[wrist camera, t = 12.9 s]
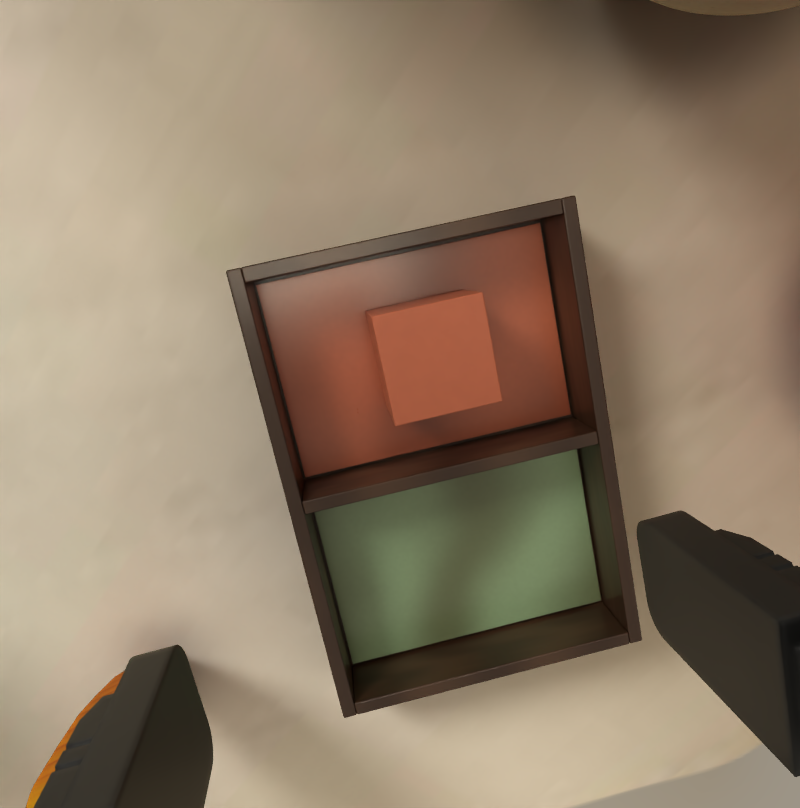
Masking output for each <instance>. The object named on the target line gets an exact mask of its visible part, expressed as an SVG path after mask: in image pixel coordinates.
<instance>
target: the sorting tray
mask: <svg viewBox="0 0 800 808" xmlns="http://www.w3.org/2000/svg"><path fill="white" fill-rule="evenodd" d="M226 274H227V278H228V281H229V285H230V289H231V293H232V296H233V300H234V304H235V308H236V312H237V315H238V319H239V323H240V327H241V331H242V334H243V338H244V342H245V346H246V349H247V353H248V357H249V361H250V365H251V368H252V372H253V376H254V380H255V383H256V387H257V391H258V395H259V399H260V402H261V406H262V410H263V414H264V418H265V421H266V425H267V429H268V433H269V436H270V440H271V444H272V448H273V452H274V455H275V459H276V463H277V467H278V470H279V474H280V478H281V482H282V486H283V489H284V493H285V497H286V501H287V505H288V508H289V512H290V516H291V520H292V523H293V527H294V531H295V535H296V539H297V542H298V546H299V550H300V554H301V557H302V561H303V565H304V569H305V573H306V576H307V580H308V584H309V588H310V592H311V595H312V599H313V603H314V607H315V610H316V614H317V618H318V622H319V626H320V629H321V633H322V637H323V641H324V645H325V648H326V652H327V656H328V660H329V663H330V667H331V671H332V675H333V679H334V682H335V686H336V690H337V694H338V697H339V701H340V705H341V709H342V713H343V716H344V718H346V717H350V716H353V715H356V714H361V713H365V712H369V711H372V710H376V709H380V708H384V707H388V706H392V705H395V704H399V703H403V702H407V701H411V700H415V699H419V698H422V697H426V696H430V695H434V694H438V693H442V692H445V691H449V690H453V689H457V688H461V687H465V686H468V685H472V684H476V683H480V682H484V681H488V680H491V679H495V678H499V677H503V676H507V675H511V674H514V673H518V672H522V671H526V670H530V669H534V668H537V667H541V666H545V665H549V664H553V663H557V662H560V661H564V660H568V659H572V658H576V657H580V656H583V655H587V654H591V653H595V652H599V651H603V650H607V649H610V648H614V647H618V646H622V645H626V644H629V642H630V643H633V642H637V641H641V640H642V637H641V630H640V624H639V617H638V610H637V604H636V597H635V590H634V584H633V577H632V570H631V564H630V557H629V550H628V544H627V537H626V530H625V524H624V517H623V510H622V504H621V497H620V490H619V484H618V477H617V470H616V464H615V457H614V450H613V444H612V437H611V430H610V424H609V417H608V410H607V404H606V397H605V390H604V384H603V377H602V370H601V364H600V357H599V350H598V344H597V337H596V330H595V324H594V317H593V310H592V304H591V297H590V290H589V284H588V277H587V270H586V264H585V257H584V250H583V244H582V237H581V230H580V224H579V217H578V210H577V204H576V197H575V196H569V197H565V198H561V199H555V200H551V201H546V202H541V203H537V204H532V205H528V206H523V207H518V208H514V209H509V210H504V211H500V212H495V213H491V214H486V215H481V216H477V217H472V218H468V219H463V220H458V221H454V222H449V223H444V224H440V225H435V226H431V227H426V228H421V229H417V230H412V231H407V232H403V233H398V234H394V235H389V236H384V237H380V238H375V239H370V240H366V241H361V242H357V243H352V244H347V245H343V246H338V247H334V248H329V249H324V250H320V251H315V252H310V253H306V254H301V255H297V256H292V257H287V258H283V259H278V260H273V261H269V262H264V263H260V264H255V265H250V266H246V267H242V268H237V269H232V270H227V271H226ZM460 289H464V290H471V291H479V292H483V295H484V301H485V306H486V312H487V317H488V322H489V328H490V333H491V339H492V344H493V350H494V355H495V361H496V366H497V372H498V377H499V383H500V388H501V394H502V399H503V401H502V402H498V403H494V404H489V405H485V406H481V407H477V408H472V409H468V410H464V411H459V412H455V413H451V414H447V415H442V416H438V417H434V418H429V419H425V420H421V421H417V422H412V423H408V424H404V425H399V426H395V425H394V422H393V420H392V418H391V415H390V413H389V411H388V409H387V406H386V403H385V398H384V394H383V389H382V385H381V380H380V376H379V371H378V367H377V362H376V358H375V353H374V349H373V344H372V340H371V335H370V331H369V326H368V322H367V317H366V313H365V311H366V310H369V309H374V308H378V307H383V306H388V305H392V304H397V303H401V302H406V301H410V300H415V299H419V298H424V297H428V296H433V295H437V294H442V293H446V292H451V291H455V290H460Z"/></svg>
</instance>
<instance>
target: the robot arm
mask: <svg viewBox="0 0 800 808" xmlns="http://www.w3.org/2000/svg"><path fill="white" fill-rule="evenodd" d="M637 539H638V546H639V552H640V559H641V565H642V571H643V578H644V584H645V590H646V597H647V603H648V607H649V611H650V614H651V617H652V619H653V621H654V624H655V626H656V628H657V630H658V631H659V633H660V634H661V636H662V637H663V638H664V640H665V641H666V642H667V643H668V644H669V645H670V646H671V647H672V648H673V649H674V650H675V651H676V652H677V653H678V654H679V655H680V656H681V658H682V659H683V660H684V661H685V662H686V663H687V664H688V665H689V666H690V667H691V668H692V669H693V670H694V671H695V672H696V673H697V674H698V675H699V676H700V677H701V679H702V680H703V681H704V682H705V683H706V684H707V685H708V686H709V687H710V688H711V689H712V690H713V691H714V692H715V693H716V694H717V695H718V696H719V697H720V698H721V699H722V701H723V702H724V703H725V704H726V705H727V706H728V707H729V708H730V709H731V710H732V711H733V712H734V713H735V714H736V715H737V716H738V717H739V718H740V719H741V720H742V722H743V723H744V724H745V725H746V726H747V727H748V728H749V729H750V730H751V731H752V732H753V733H754V734H755V735H756V736H757V737H758V738H759V739H760V740H761V741H762V743H763V744H764V745H765V746H766V747H767V748H768V749H769V750H770V751H771V752H772V753H773V754H774V755H775V756H776V757H777V758H778V759H779V760H780V761H781V762H782V763H783V765H784V766H785V767H786V768H787V769H788V770H789V771H790V772H791V773H792V774H793V775H794V776H795V777H797V776H800V567H798V566H793V565H792V562H790V561H788V560H787V559H785V558H783V557H782V556H780V555H778V554H776V555H775V554H774V552H773V551H772V550H770V549H769V548H767V547H765V546H764V545H762V544H760V543H759V542H757V541H755V540H754V539H752V538H750V537H746V536H743V535H739V534H736V533H732V532H729V531H725V530H722V529H720V530H716V531H714V530H712V529H711V528H709V527H708V526H706V525H704V524H703V523H701V522H700V521H698V520H697V519H695V518H694V517H692V516H691V515H689V514H687V513H686V512H684V511H677V512H673V513H670V514H666V515H662V516H658V517H655V518H651V519H647V520H644V521H640V522H639V523H638V526H637ZM212 764H213V744H212V736H211V731H210V727H209V723H208V720H207V717H206V714H205V711H204V708H203V705H202V702H201V699H200V696H199V693H198V690H197V686H196V683H195V680H194V677H193V674H192V671H191V668H190V665H189V662H188V659H187V656H186V654H185V652H184V650H183V649H182V647H181V646H179V645H174V646H171V647H167V648H163V649H160V650H156V651H152V652H148V653H145V654H141V655H137V656H134V657H132V658H131V659H130V661H129V663H128V665H127V667H126V669H125V671H124V673H123V675H122V677H121V679H120V681H119V684H118V686H117V688H116V690H115V692H114V693H113V694H110V695H106V696H103V697H102V698H101V699H100V700H99V701H98V702H97V703H96V704H95V705H94V706H93V707H92V708H91V709H90V710H89V711H88V712H87V713H86V714H85V715H84V716H83V717H82V718H81V719H80V720H79V721H78V723H77V725H76V727H75V729H74V731H73V733H72V735H71V737H70V739H69V741H68V742H67V744H66V750H64V751H63V752H62V754H61V756H60V758H59V760H58V762H57V763H56V765H55V771H54V772H52V773H51V775H50V777H49V779H48V781H47V783H46V784H45V786H44V788H43V790H42V792H41V794H40V796H39V798H38V800H37V802H36V804H35V805H34V807H33V808H204V804H205V799H206V794H207V789H208V785H209V780H210V775H211V770H212Z"/></svg>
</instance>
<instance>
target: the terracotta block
mask: <svg viewBox="0 0 800 808" xmlns="http://www.w3.org/2000/svg"><path fill="white" fill-rule="evenodd" d="M365 313H366V317H367V322H368V326H369V331H370V335H371V340H372V344H373V349H374V353H375V358H376V362H377V367H378V371H379V376H380V380H381V385H382V389H383V394H384V398H385V403H386V406H387V409H388V411H389V413H390V415H391V418H392V420H393V422H394V425H395V426H399V425H404V424H408V423H412V422H417V421H421V420H425V419H429V418H434V417H438V416H442V415H447V414H451V413H455V412H459V411H464V410H468V409H472V408H477V407H481V406H485V405H489V404H494V403H498V402H502V401H503V399H502V394H501V388H500V383H499V377H498V372H497V366H496V361H495V355H494V350H493V344H492V339H491V333H490V328H489V322H488V317H487V312H486V306H485V301H484V295H483V292H479V291H471V290H464V289H460V290H455V291H451V292H446V293H442V294H437V295H433V296H428V297H424V298H419V299H415V300H410V301H406V302H401V303H397V304H392V305H388V306H383V307H378V308H374V309H369V310H366V311H365Z"/></svg>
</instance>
